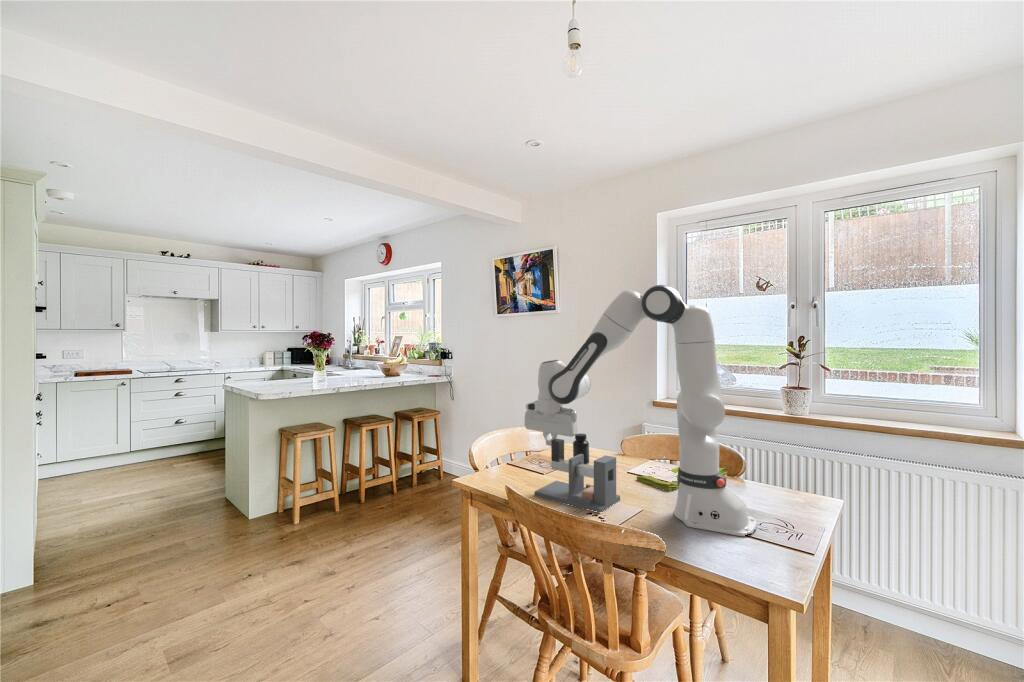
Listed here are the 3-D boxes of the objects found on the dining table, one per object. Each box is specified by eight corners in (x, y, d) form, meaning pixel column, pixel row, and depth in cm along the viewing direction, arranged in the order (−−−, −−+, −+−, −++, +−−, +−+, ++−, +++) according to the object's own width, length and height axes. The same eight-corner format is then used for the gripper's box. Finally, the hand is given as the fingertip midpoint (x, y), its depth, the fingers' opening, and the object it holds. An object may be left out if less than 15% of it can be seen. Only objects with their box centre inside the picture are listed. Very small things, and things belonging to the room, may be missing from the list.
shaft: (606, 477, 146) (606, 446, 146) (601, 480, 144) (601, 449, 143) (556, 466, 158) (556, 438, 158) (551, 469, 155) (551, 440, 155)
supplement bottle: (584, 459, 197) (583, 432, 196) (592, 463, 190) (592, 435, 190) (570, 461, 194) (570, 433, 194) (577, 465, 188) (577, 437, 187)
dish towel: (635, 481, 169) (635, 473, 169) (694, 465, 188) (694, 458, 188) (669, 494, 156) (669, 484, 156) (728, 475, 175) (728, 467, 175)
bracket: (620, 500, 149) (620, 455, 149) (600, 513, 138) (600, 465, 138) (556, 484, 165) (556, 443, 164) (534, 495, 153) (534, 452, 153)
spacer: (591, 486, 151) (591, 493, 151) (581, 491, 147) (581, 498, 147) (601, 488, 149) (601, 496, 149) (592, 493, 144) (592, 501, 144)
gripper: (581, 408, 153) (580, 448, 154) (532, 402, 166) (532, 439, 166) (571, 410, 148) (571, 452, 149) (522, 404, 161) (521, 442, 161)
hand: (550, 445), depth 157 cm, fingers closed
